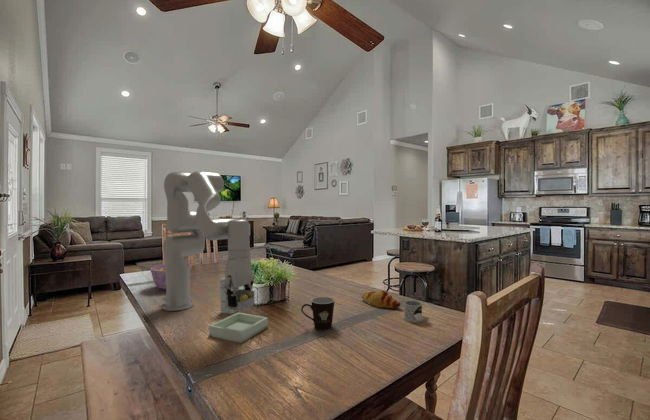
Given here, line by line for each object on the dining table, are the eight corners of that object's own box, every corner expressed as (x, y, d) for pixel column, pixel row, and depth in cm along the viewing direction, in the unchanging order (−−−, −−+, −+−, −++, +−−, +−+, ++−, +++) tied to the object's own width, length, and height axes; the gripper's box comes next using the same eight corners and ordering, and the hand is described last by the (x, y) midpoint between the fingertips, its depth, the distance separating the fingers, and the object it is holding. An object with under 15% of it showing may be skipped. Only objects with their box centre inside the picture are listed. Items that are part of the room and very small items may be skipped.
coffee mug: (337, 324, 121) (337, 298, 121) (330, 332, 113) (330, 304, 113) (309, 320, 125) (308, 295, 124) (300, 328, 117) (300, 301, 116)
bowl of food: (159, 284, 181) (159, 264, 181) (196, 283, 183) (196, 263, 183) (143, 294, 161) (143, 271, 161) (184, 293, 163) (184, 270, 163)
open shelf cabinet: (225, 308, 112) (225, 294, 112) (239, 302, 119) (239, 289, 119) (241, 310, 109) (240, 296, 109) (254, 304, 116) (254, 290, 116)
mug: (416, 324, 120) (417, 307, 120) (401, 320, 125) (401, 303, 125) (428, 317, 128) (428, 301, 128) (413, 313, 132) (413, 297, 132)
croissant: (358, 308, 150) (352, 294, 147) (369, 294, 156) (364, 281, 153) (396, 318, 135) (391, 304, 132) (407, 302, 141) (403, 288, 138)
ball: (237, 302, 115) (239, 294, 114) (241, 300, 117) (244, 292, 117) (244, 305, 114) (246, 297, 113) (248, 303, 117) (250, 295, 116)
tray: (209, 335, 111) (209, 325, 111) (238, 321, 124) (238, 312, 124) (241, 343, 105) (241, 332, 105) (268, 327, 118) (268, 317, 118)
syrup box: (233, 314, 132) (232, 279, 132) (220, 313, 134) (219, 278, 133) (239, 309, 138) (239, 276, 138) (226, 308, 139) (226, 275, 139)
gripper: (246, 250, 123) (247, 295, 124) (213, 257, 108) (214, 309, 108) (262, 251, 120) (263, 297, 120) (230, 258, 104) (231, 312, 105)
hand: (240, 303), depth 114 cm, fingers closed on open shelf cabinet, 7 cm apart
